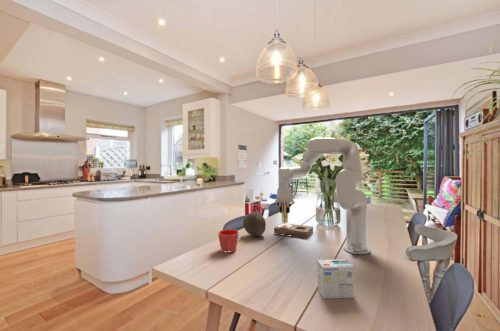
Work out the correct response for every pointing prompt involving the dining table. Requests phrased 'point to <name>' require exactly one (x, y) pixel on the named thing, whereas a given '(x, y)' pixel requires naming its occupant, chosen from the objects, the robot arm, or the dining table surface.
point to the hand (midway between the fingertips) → (284, 212)
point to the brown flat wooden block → (294, 230)
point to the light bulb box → (335, 278)
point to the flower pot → (228, 239)
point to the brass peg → (284, 213)
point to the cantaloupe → (254, 224)
